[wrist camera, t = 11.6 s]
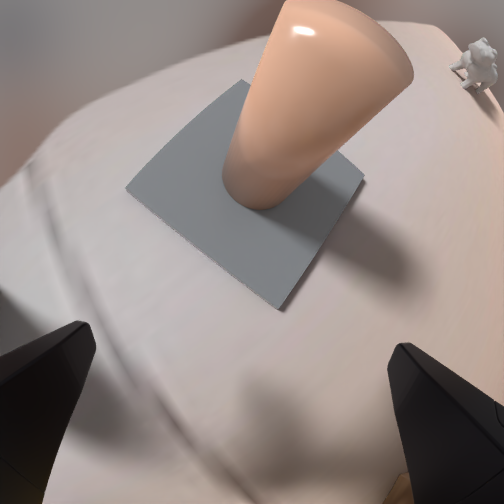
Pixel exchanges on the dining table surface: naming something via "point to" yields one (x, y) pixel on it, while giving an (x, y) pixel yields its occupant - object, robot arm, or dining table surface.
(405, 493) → the walnut block
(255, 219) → the coaster
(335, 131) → the tan rounded cylinder
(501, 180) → the dining table surface
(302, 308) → the dining table surface
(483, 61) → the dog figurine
